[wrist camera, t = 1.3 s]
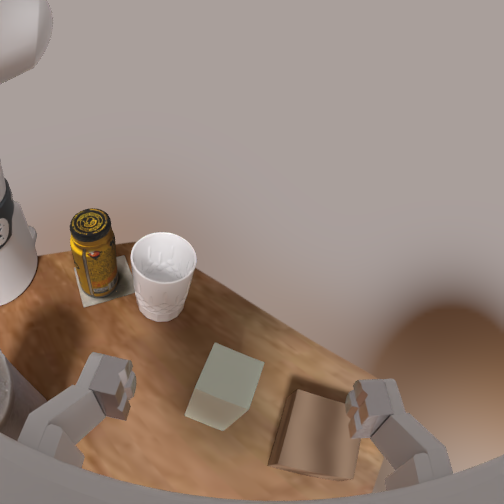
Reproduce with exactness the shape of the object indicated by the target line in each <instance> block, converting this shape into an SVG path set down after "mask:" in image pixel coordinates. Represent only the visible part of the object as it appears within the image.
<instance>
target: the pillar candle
mask: <svg viewBox="0 0 504 504" xmlns="http://www.w3.org/2000/svg"><path fill="white" fill-rule="evenodd" d="M46 402H47V400H46V399H45V398H44V397H43V396H42V394H40V393H39V392H38V391H37V390H36V389H35V388H34V387H33V386H32V385H31V384H30V383H29V382H28V381H27V380H26V379H25V378H24V377H23V376H22V375H21V374H20V373H19V371H18V370H17V369H16V368H15V367H14V366H13V365H12V364H11V363H10V362H9V361H8V360H7V358H6V357H5V355H4V354H2V352H1V349H0V433H2V434H4V435H6V436H8V437H10V438H12V439H14V440H16V441H18V438H19V436H20V433H21V431H22V429H23V426H24V424H25V422H26V420H27V417H28V415H29V414H30V413H31V412H33V411H34V410H36V409H37V408H39V407H40V406H42V405H43V404H45V403H46Z"/></svg>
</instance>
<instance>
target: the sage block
mask: <svg viewBox="0 0 504 504" xmlns="http://www.w3.org/2000/svg"><path fill="white" fill-rule="evenodd" d="M264 363H265V362H262V361H259V360H257V359H254V358H252V357H249V356H247V355H244V354H242V353H239V352H237V351H234V350H232V349H230V348H227V347H225V346H223V345H220V344H218V343H214V345H213V348H212V350H211V352H210V354H209V357H208V359H207V361H206V363H205V366H204V368H203V370H202V372H201V375H200V377H199V379H198V382H197V384H196V386H195V388H194V391H193V394H192V396H191V399H190V402H189V404H188V407H187V410H186V412H185V415H184V416H186V417H189V418H191V419H194V420H196V421H198V422H201V423H203V424H206V425H208V426H211V427H213V428H216V429H219V430H221V431H224V430H225V429H226V428H228V427H229V426H230V425H231V424H232V423H234V422H235V421H236V420H237V419H238V418H240V417H241V416H242V415H243V414H244V413H245V412H247V411H248V410H249V408H250V405H251V402H252V399H253V396H254V393H255V390H256V387H257V384H258V381H259V378H260V375H261V372H262V369H263V366H264Z"/></svg>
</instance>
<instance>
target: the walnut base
mask: <svg viewBox="0 0 504 504" xmlns="http://www.w3.org/2000/svg"><path fill="white" fill-rule="evenodd" d="M350 420H351V419H350V418H349V417H348V416H347V415H346V410H345V403H342V402H338V401H335V400H332V399H328V398H325V397H322V396H318V395H315V394H312V393H309V392H306V391H302V390H299V389H297V390H296V391H295V392H293V393H292V394H291V395H289V396H288V397H287V400H286V403H285V407H284V411H283V414H282V418H281V422H280V425H279V429H278V432H277V436H276V439H275V443H274V446H273V449H272V453H271V456H270V459H269V463H268V466H269V467H273V468H277V469H281V470H285V471H289V472H294V473H298V474H303V475H307V476H312V477H317V478H323V479H328V480H334V481H344V480H351V479H353V478H354V473H355V468H356V463H357V458H358V452H359V446H360V441H361V438H355V439H350V433H349V428H348V423H349V422H350Z"/></svg>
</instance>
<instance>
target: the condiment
mask: <svg viewBox="0 0 504 504" xmlns="http://www.w3.org/2000/svg"><path fill="white" fill-rule="evenodd" d="M70 231H71V239H70V246H71V250H72V254H73V259H74V263H75V268H74V271H75V275H76V279H77V283H78V287H79V291H80V295H81V299H82V303H83V307H87V306H91V305H95V304H98V303H102V302H105V301H109V300H112V299H115V298H118V297H122V296H126V295H129V294H132V293H135V289H134V283H133V277H132V274H131V272H130V269H129V266H128V264H127V261H126V258H125V255H123V256H119V257H116V246H115V236H114V233H113V231H112V228H111V221H110V218H109V216H108V214H107V213H106V212H104V211H102V210H99V209H93V208H92V209H86V210H83V211H80V212H79V213H77V214H76V215H75V216H74V217H73V219H72V221H71V224H70ZM116 291H117V292H116Z"/></svg>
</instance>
